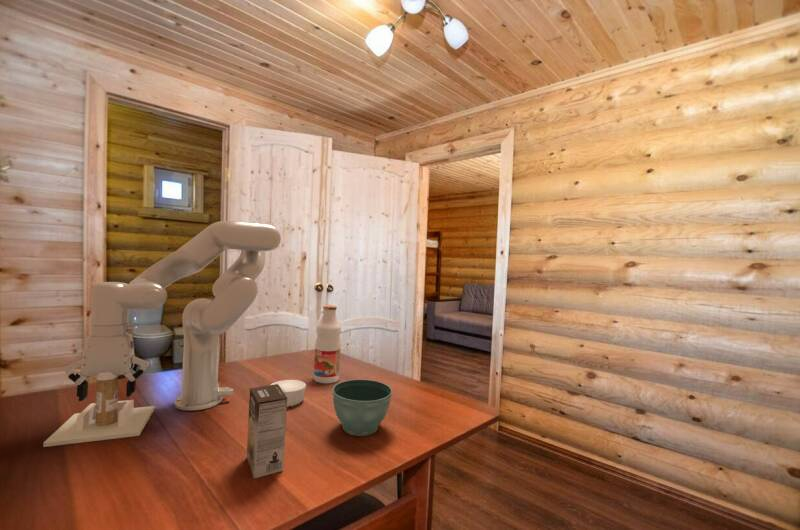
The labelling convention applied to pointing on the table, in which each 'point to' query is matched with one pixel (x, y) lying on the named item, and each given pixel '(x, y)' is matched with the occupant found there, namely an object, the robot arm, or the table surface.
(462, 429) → the table surface
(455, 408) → the table surface
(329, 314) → the fruit juice
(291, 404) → the ramekin
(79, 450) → the table surface
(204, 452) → the table surface
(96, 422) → the sprinkles bottle
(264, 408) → the coffee box
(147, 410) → the u rest
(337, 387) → the flower pot
